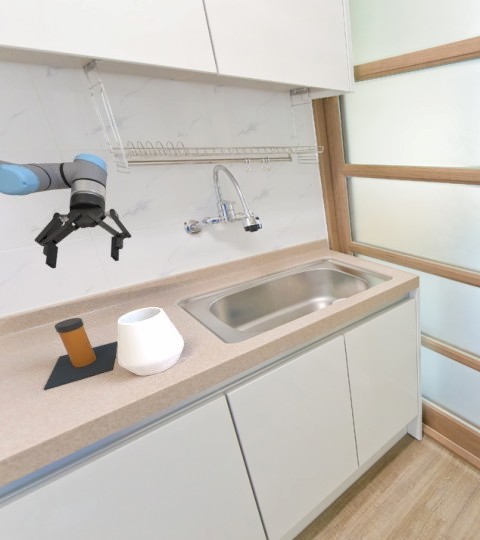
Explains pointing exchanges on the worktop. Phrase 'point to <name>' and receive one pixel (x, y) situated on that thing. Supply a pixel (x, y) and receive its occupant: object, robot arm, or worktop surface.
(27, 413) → the worktop surface
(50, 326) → the worktop surface
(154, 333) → the white vase
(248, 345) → the worktop surface
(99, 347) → the mat
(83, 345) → the vial
